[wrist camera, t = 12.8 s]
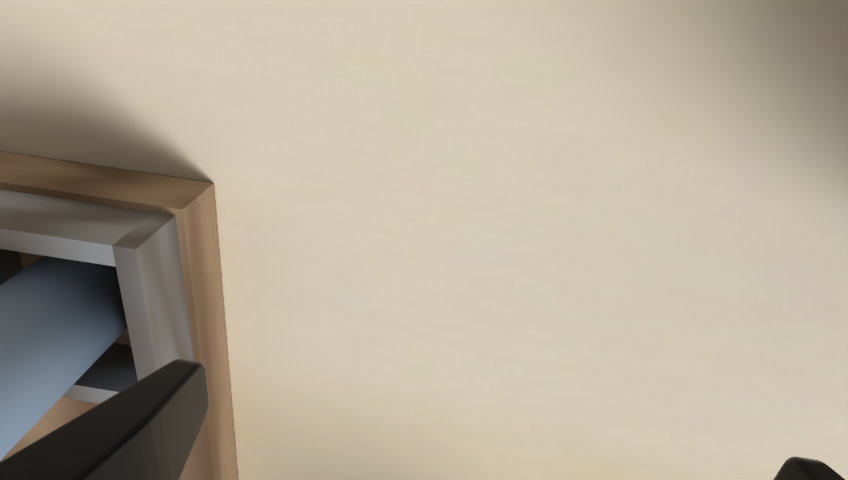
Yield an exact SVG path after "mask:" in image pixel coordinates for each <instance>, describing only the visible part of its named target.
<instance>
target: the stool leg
mask: <svg viewBox="0 0 848 480" xmlns="http://www.w3.org/2000/svg"><path fill="white" fill-rule="evenodd" d="M127 328H128V327H127V322H126V317H125V311H124V306H123V301H122V296H121V291H120V285H119V280H118V275H117V270H116V267H114V266H108V265H101V264H95V263H89V262H82V261H76V260H69V259H63V258H56V257H50V256H43V257H41V258H40V259H38V260H37V261H35V262H34V263H32V264H31V265H29V266H28V267H26V268H25V269H24V270H22V271H21V272H19V273H18V274H16V275H15V276H13V277H12V278H10V279H9V280H8V281H6V282H5V283H3V284H2V285H0V461H1V460H2V459H3V457H4V456H5V455H6V454H7V453H8V452H9V451H10V450H11V449H12V448H13V447H14V446H15V445H16V444H17V443H18V442H19V441H20V440H21V439H22V438H23V437H24V436H25V434H26V433H27V432H28V431H29V430H30V429H31V428H32V427H33V426H34V425H35V424H36V423H37V422H38V421H39V420H40V419H41V418H42V417H43V416H44V415H45V414H46V413H47V411H48V410H49V409H50V408H51V407H52V406H53V405H54V404H55V403H56V402H57V401H58V400H59V399H60V398H61V397H62V396H63V395H64V394H65V393H66V392H67V391H68V390H69V388H70V387H71V386H72V385H73V384H74V383H75V382H76V381H77V380H78V379H79V378H80V377H81V376H82V375H83V374H84V373H85V372H86V371H87V370H88V369H89V368H90V367H91V365H92V364H93V363H94V362H95V361H96V360H97V359H98V358H99V357H100V356H101V355H102V354H103V353H104V352H105V351H106V350H107V349H108V348H109V347H110V346H111V345H112V344H113V342H114V341H115V340H116V339H117V338H118V337H119V336H120V335H121V334H122V333H123V332H124V331H125V330H126V329H127Z"/></svg>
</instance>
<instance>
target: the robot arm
mask: <svg viewBox="0 0 848 480" xmlns="http://www.w3.org/2000/svg"><path fill="white" fill-rule="evenodd" d="M208 406H209V395H208V386H207V377H206V370H205V366H204V365H203V363H201V362H198V361H191V360H185V359H176V360H173V361H171V362H170V363H168V364H166V365H165V366H163V367H161V368H159V369H158V370H156V371H154V372H153V373H151V374H149V375H148V376H146V377H144V378H142V379H141V380H139V381H137V382H136V383H134V384H132V385H130V386H129V387H127V388H125V389H124V390H122V391H120V392H119V393H117V394H115V395H113V396H112V397H110V398H108V399H107V400H105V401H103V402H102V403H100V404H98V405H96V406H95V407H93V408H91V409H90V410H88V411H86V412H84V413H83V414H81V415H79V416H78V417H76V418H74V419H73V420H71V421H69V422H67V423H66V424H64V425H62V426H61V427H59V428H57V429H56V430H54V431H52V432H50V433H49V434H47V435H45V436H44V437H42V438H40V439H38V440H37V441H35V442H33V443H32V444H30V445H28V446H27V447H25V448H23V449H21V450H20V451H18V452H16V453H15V454H13V455H11V456H10V457H8V458H6V459H4V460H3V461H1V462H0V480H179V479H180V476H181V474H182V472H183V469H184V467H185V465H186V462H187V460H188V457H189V455H190V453H191V450H192V448H193V446H194V443H195V441H196V438H197V436H198V434H199V431H200V429H201V427H202V424H203V422H204V419H205V417H206V414H207V411H208ZM774 480H845V479H844V478H842V477H841V476H840V475H839V474H837V473H836V472H835V471H834V470H832V469H831V468H830V467H829V466H827V465H826V464H825V463H823V462H821V461H818V460H813V459H807V458H801V457H791V458H789V459H787V460H786V461H785V463H784V464H783V466H782V467H781V469H780V470H779V472H778V473H777V475H776V476H775V478H774Z"/></svg>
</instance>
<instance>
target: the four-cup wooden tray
mask: <svg viewBox="0 0 848 480" xmlns="http://www.w3.org/2000/svg"><path fill="white" fill-rule="evenodd" d="M43 256H50V257H56V258H63V259H69V260H76V261H82V262H89V263H95V264H101V265H108V266H114V267H116V270H117V275H118V280H119V285H120V291H121V296H122V301H123V306H124V311H125V317H126V322H127V327H128V328H127V329H126V330H125V331H124V332H123V333H122V334H121V335H120V336H119V337H118V338H117V339H116V340H115V341H114V342H113V344H112V345H111V346H110V347H109V348H108V349H107V350H106V351H105V352H104V353H103V354H102V355H101V356H100V357H99V358H98V359H97V360H96V361H95V362H94V363H93V364H92V365H91V367H90V368H89V369H88V370H87V371H86V372H85V373H84V374H83V375H82V376H81V377H80V378H79V379H78V380H77V381H76V382H75V383H74V384H73V385H72V386H71V387H70V388H69V390H68V391H67V392H66V393H65V394H64V395H63V396H62V397H61V398H60V399H59V400H58V401H57V402H56V403H55V404H54V405H53V406H52V407H51V408H50V409H49V410H48V411H47V413H46V414H45V415H44V416H43V417H42V418H41V419H40V420H39V421H38V422H37V423H36V424H35V425H34V426H33V427H32V428H31V429H30V430H29V431H28V432H27V433H26V434H25V436H24V437H23V438H22V439H21V440H20V441H19V442H18V443H17V444H16V445H15V446H14V447H13V448H12V449H11V450H10V451H9V452H8V453H7V454H6V455H5V456H4V457H3V459H2V460H1V461H3V460H4V459H6V458H8V457H10V456H11V455H13V454H15V453H16V452H18V451H20V450H21V449H23V448H25V447H27V446H28V445H30V444H32V443H33V442H35V441H37V440H38V439H40V438H42V437H44V436H45V435H47V434H49V433H50V432H52V431H54V430H56V429H57V428H59V427H61V426H62V425H64V424H66V423H67V422H69V421H71V420H73V419H74V418H76V417H78V416H79V415H81V414H83V413H84V412H86V411H88V410H90V409H91V408H93V407H95V406H96V405H98V404H100V403H102V402H103V401H105V400H107V399H108V398H110V397H112V396H113V395H115V394H117V393H119V392H120V391H122V390H124V389H125V388H127V387H129V386H130V385H132V384H134V383H136V382H137V381H139V380H141V379H142V378H144V377H146V376H148V375H149V374H151V373H153V372H154V371H156V370H158V369H159V368H161V367H163V366H165V365H166V364H168V363H170V362H171V361H173V360H176V359H185V360H191V361H198V362H201V363H203V365H204V366H205V370H206V377H207V386H208V395H209V406H208V411H207V414H206V417H205V419H204V422H203V424H202V427H201V429H200V431H199V434H198V436H197V438H196V441H195V443H194V446H193V448H192V450H191V453H190V455H189V457H188V460H187V462H186V465H185V467H184V469H183V472H182V474H181V476H180V479H179V480H238V470H237V458H236V446H235V434H234V422H233V409H232V397H231V385H230V373H229V361H228V349H227V337H226V325H225V312H224V300H223V288H222V276H221V264H220V252H219V240H218V227H217V215H216V203H215V191H214V183H210V182H203V181H196V180H190V179H183V178H176V177H169V176H163V175H156V174H149V173H142V172H136V171H129V170H122V169H115V168H109V167H102V166H95V165H88V164H82V163H75V162H68V161H61V160H55V159H48V158H41V157H34V156H28V155H21V154H14V153H7V152H1V151H0V285H2V284H3V283H5V282H6V281H8V280H9V279H10V278H12V277H13V276H15V275H16V274H18V273H19V272H21V271H22V270H24V269H25V268H26V267H28V266H29V265H31V264H32V263H34V262H35V261H37V260H38V259H40V258H41V257H43ZM1 461H0V462H1Z"/></svg>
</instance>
